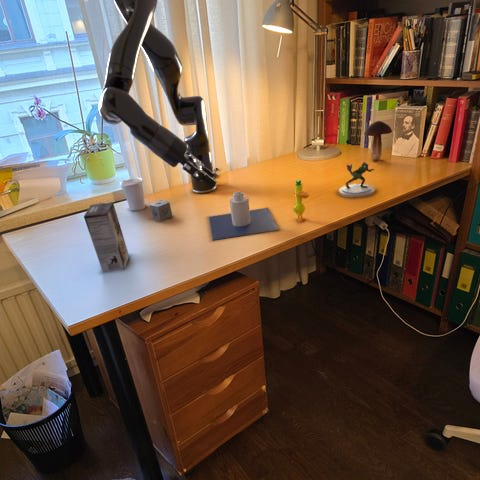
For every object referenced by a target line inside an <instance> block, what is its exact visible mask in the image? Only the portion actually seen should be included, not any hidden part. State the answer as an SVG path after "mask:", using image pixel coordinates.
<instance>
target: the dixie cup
mask: <svg viewBox="0 0 480 480" xmlns="http://www.w3.org/2000/svg"><path fill="white" fill-rule="evenodd" d="M119 185H120V187H121V189H122V193H123V195H124V197H125V199H126V202H127V204H128V207H129V209H130V211H140V210H143V209H145V208H146V201H145V193H144V185H143V178H141V177H132V178H127V179H124V180H121V181H119Z"/></svg>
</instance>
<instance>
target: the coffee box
mask: <svg viewBox="0 0 480 480" xmlns="http://www.w3.org/2000/svg"><path fill="white" fill-rule="evenodd" d="M83 218H84V221H85V224H86V228H87V230H88V233H89V236H90V239H91V242H92V246H93V248H94V251H95V254H96V257H97V260H98V263H99V266H100V269H101V271H102V273H108V272H114V271H115V272H116V271H122V270H125V269H126V267H127V262H128V259H129V256H130V254H129V251H128V250H129V249H128V248H127V244H126V240H125V236H124V234H123V230H122V228H121V227H122V226H121V224H120V220H119V217H118V213H117V211H116V207H115V205H114V201H112V202H101V203H94V204H90V205H89V207H88V208H87V210H86V212H85V213H84V215H83Z"/></svg>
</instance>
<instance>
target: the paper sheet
mask: <svg viewBox="0 0 480 480" xmlns="http://www.w3.org/2000/svg"><path fill="white" fill-rule="evenodd" d="M249 210H250V220H251V222H250V224H248V225H246V226H234V225H233V222H232V215H231V213H225V214H220V215H218V214H217V215H211V216H208V220H209V226H210V231H211V237H212V241H217V240H225V239H230V238H237V237H244V236H251V235H258V234H263V233H270V232H276V231H280V228H279V227H278V224H277V223H276V221H275V219H274V218H273V215H272V214H271V212H270V210H269V208H268V207H264V208H258V209H249Z"/></svg>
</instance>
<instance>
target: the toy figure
mask: <svg viewBox="0 0 480 480" xmlns="http://www.w3.org/2000/svg"><path fill="white" fill-rule="evenodd" d="M294 191H295V192H294V195H295V200H296V204H295V203H294V204H293V205H294V206H293V207H294V208H293V209H292V210H293V212H294V213H295V214H296V216H297V221H298V222H303V221H306V219H305V217H303V215H304V213H305V211H306V208H305V205H304V203H303V199H308V198H309V196H310V193H308V192H306V191H304V190H303V183H302V180H301V179H298V180H295V184H294Z"/></svg>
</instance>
